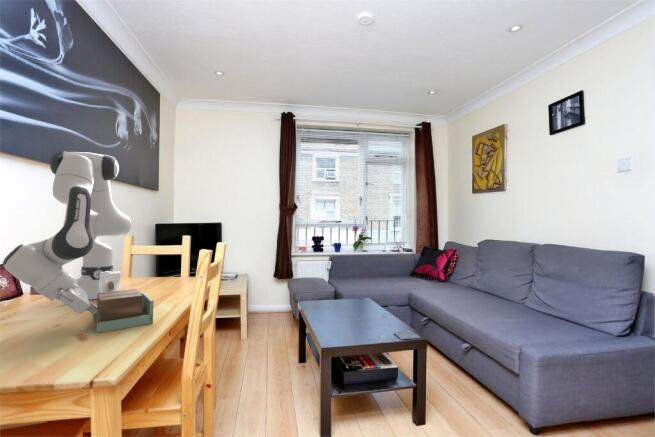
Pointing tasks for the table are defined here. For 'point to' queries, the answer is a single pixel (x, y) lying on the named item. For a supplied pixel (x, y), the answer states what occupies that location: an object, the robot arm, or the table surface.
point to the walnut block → (118, 305)
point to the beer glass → (109, 281)
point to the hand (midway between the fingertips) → (96, 311)
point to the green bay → (129, 322)
